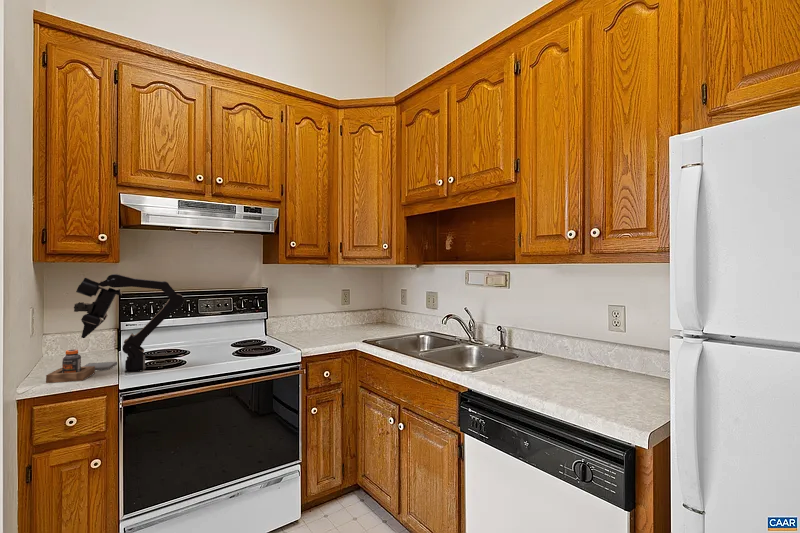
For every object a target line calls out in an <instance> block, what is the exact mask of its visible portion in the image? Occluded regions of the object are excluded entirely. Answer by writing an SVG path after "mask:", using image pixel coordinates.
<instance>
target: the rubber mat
mask: <svg viewBox="0 0 800 533" xmlns="http://www.w3.org/2000/svg"><path fill="white" fill-rule="evenodd" d="M117 365H118V361H102V362H101V361H100V362H89V363H86V364H85V365H83V366H82V367H86V366H95V370H99V371H109V370H111V369H112V368H113V366H114V367H115V366H117ZM110 368H111V369H110ZM108 369H109V370H108Z"/></svg>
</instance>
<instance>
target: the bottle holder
mask: <svg viewBox="0 0 800 533" xmlns="http://www.w3.org/2000/svg"><path fill="white" fill-rule="evenodd" d="M93 373H94V374H95V373H96V371H95V366H86V367H83V366H81V371H80V372H73V373H62V367H60V368H58V369H56V370H54V371H51V372H50V373H47V374H45V383H46V384H48V383H49V384H50V383H52V384H53V383H65V382H66V383H67V382H69V383H70V382H81V381H85V380H86V379H88V378H89V377H91V376H93V375H94V374H93ZM92 374H93V375H92ZM90 375H91V376H90ZM87 377H88V378H87Z"/></svg>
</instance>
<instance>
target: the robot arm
mask: <svg viewBox="0 0 800 533" xmlns="http://www.w3.org/2000/svg"><path fill="white" fill-rule="evenodd" d="M105 287H109V288H105ZM128 287H129V288H141V289H142V288H143V289H152V290H153V289H154V290H161V291H162V292H163V293H164V295H166V297H167V298H168V300H167V302H166V303H165V304H164V305H163V307H162V308H161V309H160V310H159V312H158V313H156V315H154V317H153V318H152V319H151V320H149V321H148V322H147V324H146V325H144V326H143V328H141V330H140V331H138V332H137V333H130V335H129V336H128V337H127V338H125V339H124V341H123V343H124V344H123V345H122V347H121V348H122V351H123V353H124V354H125V355H127V356H126V360H125V362H124V366H125V371H124V373H130V372H135V373H137V372H143V371H144V370H146V369H147V366H146V355H145V354H144V353H145V348H143V347H142V344H143V343H144V341H145V340H146V338H147V337H149V335H150V334H151V333H153V331H155V329H156V328H158V326H159V325H160V324H161V323H162V322H163V321H165V319H167V317H168V316H169V315H170V314H172V313H173V312H174V311H176V310H177V309H179V308H180V307H182V306H183V305H184V304H185V299H184V296H183V295H182V294H181V293H177V292H176V291H175V289H174V288H173V287H172V286H171V285H170V284H169V282H168V281H166V280H164V281H163V280H152V279H142V278H134V277H130V276H126V275H124V274H123V275H122V274H120V273H119V274H118V273H113V274H110V275H108V276H107V277H106V279H104V280H103V281H102V280H101V281H100V282H99V281H96V280H92V279H90V278H88V277H84V278H83V280H82V281H81V282H80V284H79V285H78V287H77V289H76V292H75V293H78V294H81V295H83V296H87V297H90V298H92V297H93V296H94V297H96V298H95V300H94V301H92V302H91V303H90V302H89V303H85V302H81V301H80V302H76V303H74V306H73V312H74V313H75V312H76V313H79V312H86V314H83V315H82V317H81V319H80V320H81V323H82V324H83V329H82V333H81V335H80V336H81V338H82V339H85V338H87V336H89V335H91V333H93V332H94V331H95V330H96V329H97V328H98V327H99V326H100V325H101V324H102V323H103V322H105V320H106V319H107V318H108V312H109V309H110V308H111V305H112V303H113V301H114V299H115V298H116V296H118V297H121V296H122V295H123V294H122V291H121V288H128ZM115 288H118V289H115Z"/></svg>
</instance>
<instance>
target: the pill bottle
mask: <svg viewBox="0 0 800 533" xmlns="http://www.w3.org/2000/svg"><path fill="white" fill-rule="evenodd" d="M81 367H82V356H81V355H80V354H79V349H68V350H65V355H64V356H63V357H62V366H61V368H62V373H73V372H80V371H81Z"/></svg>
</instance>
